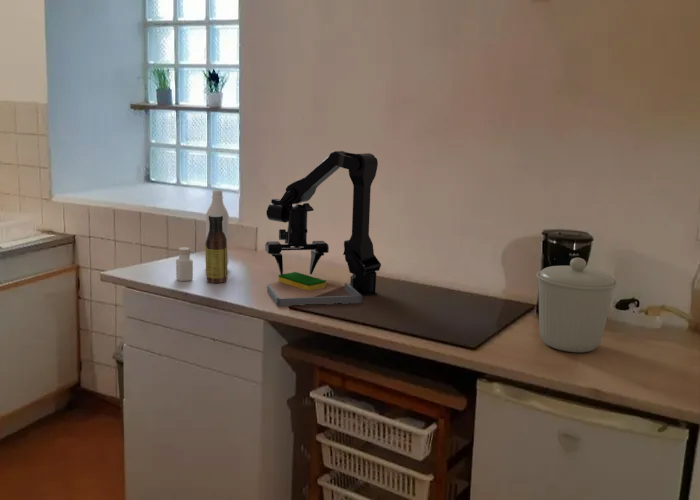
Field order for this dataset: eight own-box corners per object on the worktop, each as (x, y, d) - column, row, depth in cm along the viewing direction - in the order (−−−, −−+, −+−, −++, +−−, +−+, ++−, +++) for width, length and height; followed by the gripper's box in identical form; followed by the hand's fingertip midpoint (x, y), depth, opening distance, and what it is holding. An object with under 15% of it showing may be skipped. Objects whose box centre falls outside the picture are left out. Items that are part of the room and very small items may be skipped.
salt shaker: (193, 280, 212) (193, 249, 210) (180, 282, 210) (180, 250, 208) (188, 277, 215) (188, 246, 213) (175, 279, 213) (175, 247, 211)
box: (346, 289, 210) (347, 282, 210) (362, 303, 196) (362, 296, 196) (267, 291, 203) (267, 285, 203) (277, 306, 189) (277, 299, 189)
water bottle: (209, 265, 232) (210, 188, 227) (231, 267, 231) (232, 189, 226) (202, 270, 225) (202, 191, 220) (224, 272, 224) (225, 192, 219)
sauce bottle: (217, 277, 217) (217, 212, 213) (231, 281, 213) (232, 215, 209) (200, 281, 211) (200, 214, 207) (215, 285, 208) (216, 217, 204)
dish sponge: (308, 292, 207) (308, 284, 206) (277, 282, 216) (277, 274, 216) (326, 288, 212) (326, 280, 211) (295, 279, 221) (295, 271, 221)
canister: (563, 362, 157) (574, 268, 152) (514, 337, 173) (522, 251, 169) (627, 354, 164) (638, 264, 160) (573, 330, 180) (582, 248, 176)
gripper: (320, 220, 228) (319, 267, 231) (262, 220, 223) (261, 269, 226) (329, 226, 218) (328, 276, 221) (269, 226, 212) (268, 277, 215)
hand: (296, 274), depth 221 cm, fingers open, 9 cm apart
